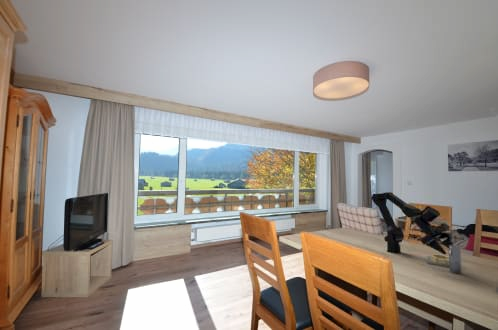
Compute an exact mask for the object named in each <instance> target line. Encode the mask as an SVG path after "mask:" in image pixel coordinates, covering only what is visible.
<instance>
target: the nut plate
mask: <svg viewBox="0 0 498 330" xmlns="http://www.w3.org/2000/svg"><path fill="white" fill-rule="evenodd" d="M426 263H427V264H428V265H432V266H438V267H442V268H447V269H448V268H449V255H446V254H442V253H441V254H440V253H429V255H428V256H427V259H426Z"/></svg>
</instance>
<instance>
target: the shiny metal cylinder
mask: <svg viewBox="0 0 498 330" xmlns="http://www.w3.org/2000/svg"><path fill="white" fill-rule="evenodd" d="M448 247H449V248H448V256H449V269H448V270H449V272H450V273H452V274H455V275H462V274H463V273H462V272H463V269H462V254H461V253H462V252H461V251H462V250H461V246H459V245H456V244H453V245H448Z"/></svg>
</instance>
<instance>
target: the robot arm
mask: <svg viewBox="0 0 498 330" xmlns="http://www.w3.org/2000/svg"><path fill="white" fill-rule="evenodd" d="M371 200H372V202H373V203H374V205H376V206H377V207H378V209H379V212H380V214H381V216H382V218H383V221H384V223H385V225H386V227H387V228H386V234H387V235H385V237H383V239H384V242H386V245H387V250H386V252H389V253H395V254H397V255H398V254H400V253H401V244H400V243H402V242H403V240H404V237H405V235H404V233H405V232H404V231H403V230H402V228H401V226H397V225H396V222H395V221H394V219H393V217H392V214H391V211H390V209H389V208H388V206H387V201H390V203H391V204H394V205H395V206H396V207H397V208H399V209H400V210H401V212H402V214H404V215H405V216H406V217H407V218H409V219H410V218H412V219H410V225H411V226H412V225H415V226H417V227H418V229H419V230H421V231H420V233H421V234H424V236H423V237H422V238H421V239H420V242H421V243H422V245H426V246H427V247H429V248H431V249H433V250H435V251H437V252H439V253H441V254H442V255H447V253H448V252H446V251H445V249H444V248H443V246H445V247H446V248H448V249H449V247H448V245H454V243H453V241H452V239H453V237H454V235H453V234H452V233H451V232H449V231H451V229H450V228H451V226H450V225H449V224H447V223H446V222H444V223H440V225H434V224H432V223H431V222H434V221H435V220H436V219H438V218H439V217H440V216H441V213H440V212H439V210H437V209H435V208H433V207H432V206H430V205H427V206H426V207H425V208H424V209H423V210H421V209H420V208H418V207H417V206H415V205H412V204H409V203H407V202H405V201H404V200H402V199H401V198H399V197H398V196H396V194H394V193H393V192H391V191H390V192H387V191H386V192H382V193H372V195H371ZM413 218H414V219H413ZM439 242H440V243H439ZM441 245H443V246H441Z"/></svg>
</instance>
